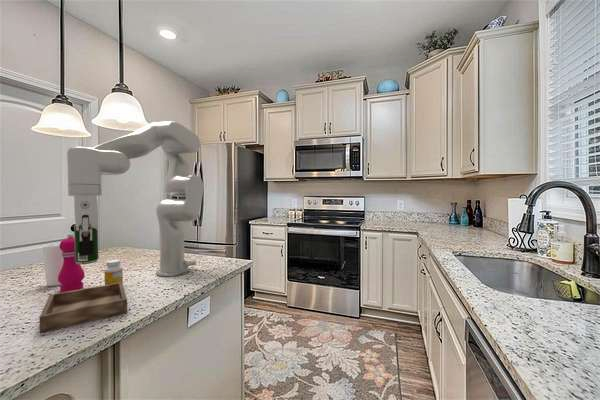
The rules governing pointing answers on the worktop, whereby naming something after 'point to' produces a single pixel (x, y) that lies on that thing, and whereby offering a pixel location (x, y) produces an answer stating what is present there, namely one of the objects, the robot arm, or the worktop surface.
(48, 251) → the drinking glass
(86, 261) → the beer can
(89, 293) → the box
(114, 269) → the supplement bottle
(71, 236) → the pepper mill
